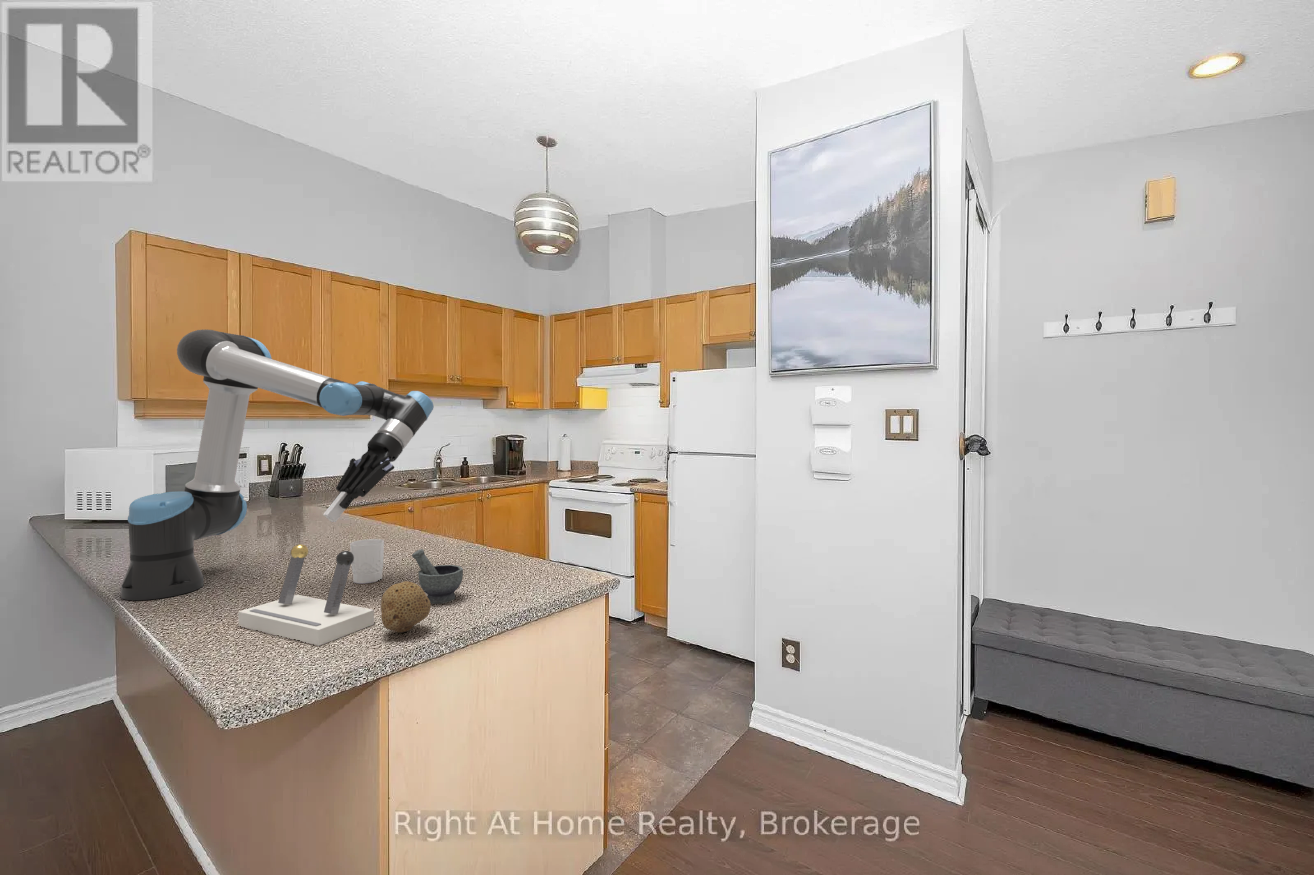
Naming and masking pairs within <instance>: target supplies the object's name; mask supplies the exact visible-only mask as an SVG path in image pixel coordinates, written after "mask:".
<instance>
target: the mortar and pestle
mask: <svg viewBox="0 0 1314 875" xmlns="http://www.w3.org/2000/svg"><path fill="white" fill-rule="evenodd" d="M411 556H412V558H413V559H415V562H416V563H417V565H418V567H419V569H420V570H418V576H417V577H418V581H419V582H418V583H419V585H420V587H421V588H422V589H423V591H424V592H425V594H426V595H427V597H428V599H429V600H430V603H431V604H434V605H435V604H446V603H450V602H452V601H454V600H455V599H456V593H455V592H456V591H457V590H458V589H459V588H460V585H461V584H462V582H463V579H464V578H463V577H464V569H463V567H462V566H460V565H454V564H442V565H441V564H438V565H433V564H432V563H431V561H430V559H429V558H428V557H427V556H426V554H425V551H424V549H423V548H420V549H417V550H416V551H415V552H413V553H412V554H411Z"/></svg>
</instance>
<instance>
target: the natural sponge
mask: <svg viewBox="0 0 1314 875" xmlns="http://www.w3.org/2000/svg"><path fill="white" fill-rule="evenodd" d="M427 595H428V594H426V593H425V592H424V591H423V589H422V587H421V585H420V586H419V585H418V584H417V583H415V582H412V581H409V580H408V581H406V580H404V581H402V582H398V583H395V584H393V585H391V586H389V587H388V588H387V589H386V590H385V592H384V593H383V594H382V596H381V601H380V611H381V614H380V615H381V622H382V625H383V627H384V628H385V629H386V630H390V631H394V632H395V633H397V634H402V633H407V632H408V631H410V630H412V629H413V628H414V626H416V625H417V624H419V623H421V622H422V621H424V620H425V619H426V618H427V617H428V616H429V614H430V612H431V606H432V605H431V604H432V603H430V600H429V599H428V597H427Z"/></svg>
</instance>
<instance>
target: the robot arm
mask: <svg viewBox="0 0 1314 875" xmlns="http://www.w3.org/2000/svg"><path fill="white" fill-rule="evenodd" d="M176 355H177V359H178V360H179V362H180V364H181V365H182V366H183V367H184V368H185V370H187V371H189V372H191V373H192V374H194V375H198V376H201V377H203V379H202V382H203V384H205V385H206V386H207V388H208V395H207V400H206V407H205V412H204V418H203V425H202V429H201V430H202V431H201V435H200V442H199V448H198V454H197V458H196V465H195V466H196V467H195V471H194V477H193V479H192V480H190V481H188V482H186V483H185V486H184V491H182V490H181V491H178V490H177V491H167V492H163V493H162V492H161V493H154V494H149V495H143V496H141V497H138V498H137V499H134V500H133V501H132V502H131V503H130V505H129V506H128V507H129V508H128V516H127V522H128V538H129V540H128V542H129V565H128V568H127V571H126V573H125V576H124V577H123V578H124V579H123V581H122V584H121V586H120V598H121V599H122V600H128V601H147V600H157V599H164V598H171V597H175V596H180V595H183V594H187V593H191V592H194V591H196V590H198V589H201V588H203V587H204V583H205V582H204V581H205V580H204V574H203V572H202V570H201V568H200V566H199V564H198V561H197V559H196V556H195V550H194V549H195V548H194V546H195V545H194V544H195V543H194V541H196V540H200V539H201V540H202V539H205V538H210V537H212V536H219V535H222V534H225V533H227V532H230V531H233V530H234V529H236V528H237V527H238V526H239V525H240V524H242V522H243V521H244V519H245V517H246V515H247V510H248V506H247V501H246V500H245V497H244V495H243V494H242V493H241V486H240V485H239V484H237V482H236V481H235V480H236V475H237V469H238V464H239V459H240V452H241V446H242V442H243V436H244V429H245V424H246V419H247V417H246V416H247V413H248V412H247V411H248V407H249V400H250V395H251V394H253V393H255V392H256V391H258V390H259V389H261V390H265V391H268V392H270V393H275V394H276V395H277V394H278V395H281V396H283V397H287V398H291V399H294V400H297V401H299V402H302V403H303V402H304V403H307V404H310V405H313V406H317V407H319V408H323V410H325V411H326V412H327V413H329V414H332V415H337V416H343V417H345V416H346V417H347V416H373V417H377V418H380V419H382V420H385V422H384V423H383V424H382V425H381V426H380V427H379V428H378V429H377V431H376V433H375V434H373V436H372V437H371V438H370V440H369V441H368V442H367V451H366V452H365V453H363V454H362V455H361V456H360V458H358V459H356V458H351V459H350V460H349V465H348V466H347V468H346V470H345V471H344V473H343V474H342V477H341V478H340V480H339V482H338V483H337V485H336V487H335V490H336V491H338V494H337V496H336V497H335V498H334V500H333V501H332V502H331V503H330V505H329V507H328V508H327V509H326V510H325V511H324V512H323V514H322V515H323V516H324V517H325V518H326V519H327V520H328V521H329V522H330V523H336V522H337V520H339V518H340V517H341V516H342V514H343V513H344V512H345V511H346V509H347V508H348V507H350V505H351V504H352V503H353V501H354V500H355V499H357V498H359V497H361V498H363V497H365V496H367V494H368V493H369V492H370V491H371V490H372V489H373V488H374V487H375V486H376V485H378V483H379V482H380V481H381V480H382V479H384V477H386V476H387V474H388V473H390V472H391V471H393V470H395V466H394V465H393V464H392V462H395V461H396V460H397V459H398V458H399V456H400V455H401V454H402V453H403V451H404V449H405V448H406V447H407V445H408V444H409V443H410V441H411V440H412V439H413V437H415V435H416V434H417V432H418V431H419V430H420V428H421V427H422V425H424V423H425V422H426V421H428V419H429V417H430V415H431V414H432V412H433V410H434V403H433V401H432V399H431V398H430V397H429V396H428V395H426V394H425V393H423V392H422V391H420V390H411V391H410V392H409V393H407V394H406V395H403V394H399V393H396V392H393V391H390V390H388V389H386V388H383V387H380V386H378V385H377V384H375V383H369V382H366V381H363V380H362V381H358V382H357V383H351V382H350V383H349V382H346V381H344V380H340V379H337V378H333V377H330V376H327V375H324V374H321V373H316V372H314V371H311V370H307V369H304V368H301V367H299V366H295V365H292V364H289V363H286V362H283V361H278V360H275V359H272V355H271V353H270V351H269V349H268V348H267V347H266V345H265V344H263V342H261V341H259V340H258V339H255V338H252V337H249V336H246V335H241V334H237V333H235V334H234V333H228V332H224V331H218V330H213V329H197V330H193V331H190V332H188V333H187V334H185V335H184V336H183V337H182V338H181V339H180V340H179V342H178V344H177V348H176Z"/></svg>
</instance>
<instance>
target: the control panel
mask: <svg viewBox="0 0 1314 875" xmlns="http://www.w3.org/2000/svg"><path fill="white" fill-rule="evenodd" d="M278 601H279V599H278V600H274V601H269V602H267V603H262V604H259V605H256V606H253V607H249V608H245V609H242V610H239V611H238V614H237V615H238V627H240V626H241V628H244V627H245V629H249V630H252V631H256V630H258V631H257V632H260V631H262V632H261V633H264V632H265V634H268V635H274V636H277V635H279V636H278V637H281V636H282V637H281V638H285V637H287V638H286V639H289V638H290V639H289V640H293V639H296V640H295V641H297V640H300V641H299V642H301V641H303V642H302V643H305V642H306V643H305V644H308V645H309V644H310V645H313V644H314V645H313V646H318V647H319V646H323V645H325V644H327V643H330V642H332V641H335V640H338V639H340V638H342V637H343V638H344V637H346V636H348V635H350V634H353V633H355V632H357V631H360V630H363V629H365V628H367V627H370V626H373V625H375V609H372V608H368V607H367V608H366V607H362V606H356V605H352V604H345V603H342V602H341V603H340V607H339V611H338V614H329V613H325V612H324V610H325V606H326V602H327V599H321V598H316V597H310V596H306V595H301V594H294V598H293V601H292V604H282V603H278Z"/></svg>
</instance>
